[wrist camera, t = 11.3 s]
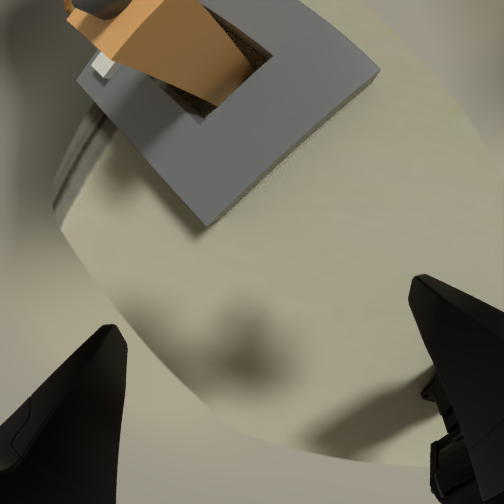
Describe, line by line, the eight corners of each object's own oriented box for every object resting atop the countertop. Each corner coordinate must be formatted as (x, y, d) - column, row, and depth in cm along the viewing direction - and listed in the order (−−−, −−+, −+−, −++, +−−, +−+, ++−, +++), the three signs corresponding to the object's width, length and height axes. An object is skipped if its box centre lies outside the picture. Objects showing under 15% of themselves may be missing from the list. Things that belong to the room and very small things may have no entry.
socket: (372, 82, 15) (383, 65, 12) (222, 217, 20) (201, 229, 17) (213, -33, 14) (197, -57, 11) (99, 85, 19) (69, 79, 16)
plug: (255, 70, 17) (162, -37, 5) (217, 106, 18) (81, 50, 6) (213, 37, 16) (102, -58, 4) (178, 71, 18) (42, 11, 6)
